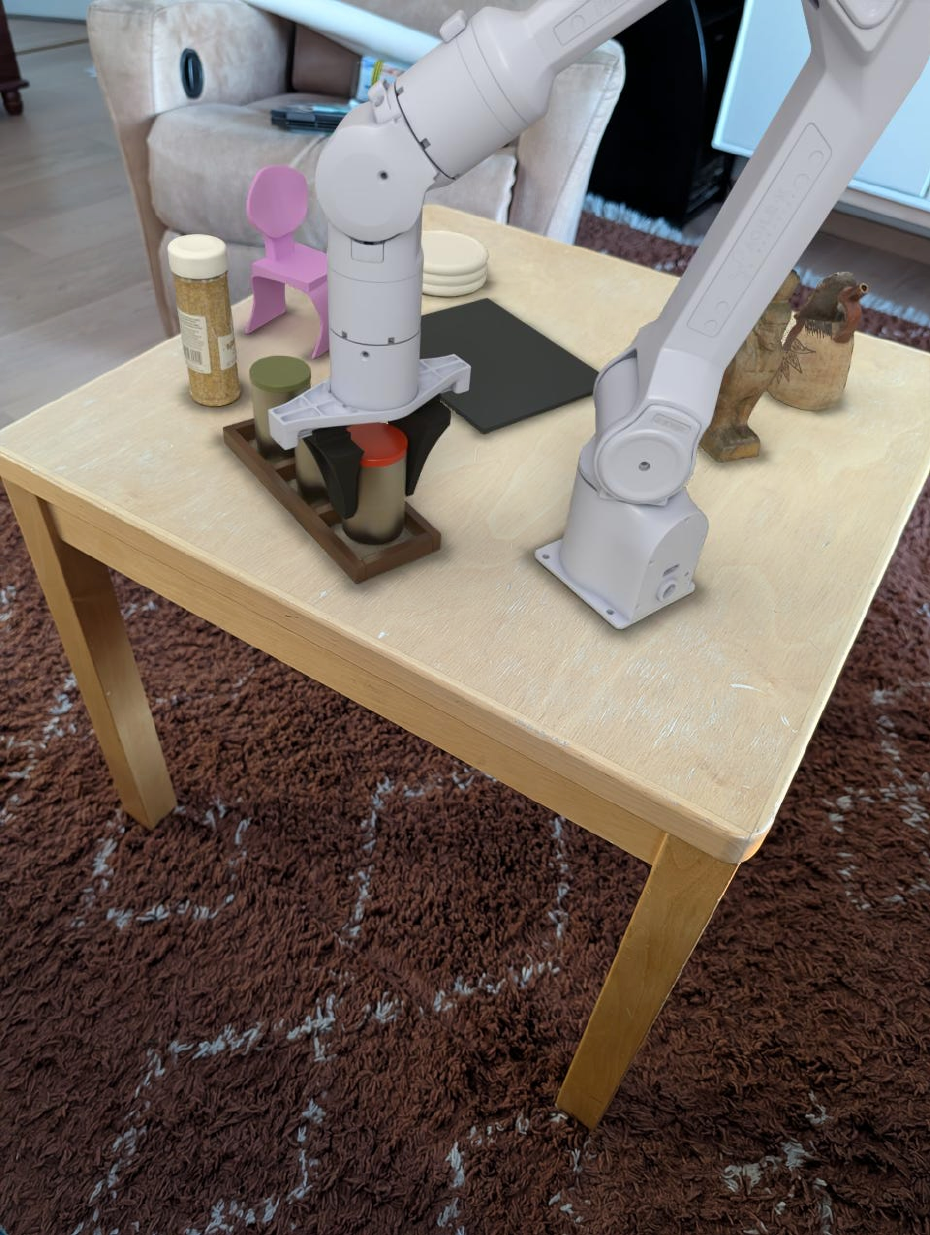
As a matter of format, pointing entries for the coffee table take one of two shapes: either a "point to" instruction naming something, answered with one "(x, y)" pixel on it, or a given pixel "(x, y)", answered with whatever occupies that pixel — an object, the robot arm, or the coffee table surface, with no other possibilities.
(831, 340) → the figurine
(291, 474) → the spice rack
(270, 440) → the herb tin
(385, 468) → the paprika tin
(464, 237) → the cream round stack
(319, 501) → the cylinder
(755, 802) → the coffee table surface
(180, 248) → the sprinkles bottle
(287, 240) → the toy chair
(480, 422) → the mat
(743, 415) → the brown carved statuette
